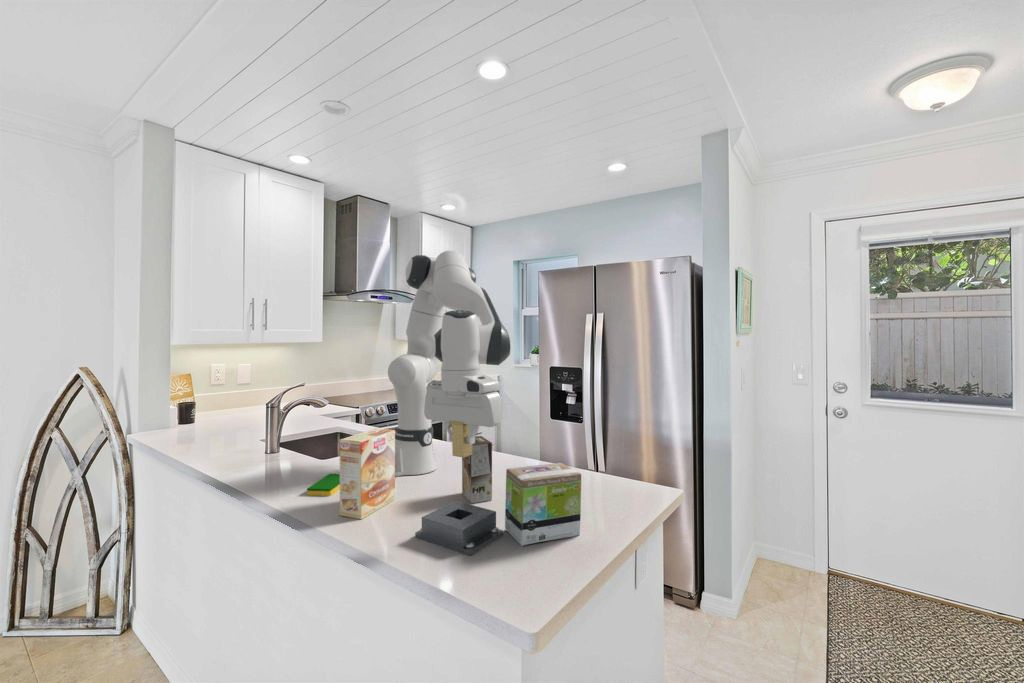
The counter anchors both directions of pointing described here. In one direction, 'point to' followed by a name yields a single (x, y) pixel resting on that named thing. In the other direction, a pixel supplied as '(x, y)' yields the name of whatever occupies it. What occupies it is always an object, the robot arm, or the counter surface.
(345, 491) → the coffeecake box
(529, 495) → the tea box
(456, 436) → the wooden square peg
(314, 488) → the dish sponge
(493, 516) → the grey square socket block
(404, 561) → the counter surface
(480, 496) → the coffee box
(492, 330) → the robot arm
